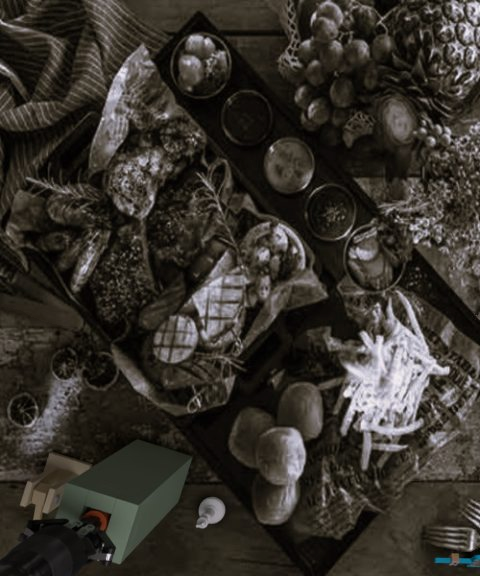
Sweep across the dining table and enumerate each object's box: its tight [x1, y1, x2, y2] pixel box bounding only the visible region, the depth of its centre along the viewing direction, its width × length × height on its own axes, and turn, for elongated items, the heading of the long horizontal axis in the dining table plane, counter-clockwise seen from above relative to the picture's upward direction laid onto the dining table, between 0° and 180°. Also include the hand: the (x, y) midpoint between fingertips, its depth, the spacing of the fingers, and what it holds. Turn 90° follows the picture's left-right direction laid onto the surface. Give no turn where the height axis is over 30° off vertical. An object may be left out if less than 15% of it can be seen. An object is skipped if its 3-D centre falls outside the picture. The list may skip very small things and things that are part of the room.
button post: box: [54, 438, 194, 565], centre depth 127 cm, size 11×9×33 cm
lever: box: [17, 483, 52, 543], centre depth 135 cm, size 12×5×2 cm, turn 163°
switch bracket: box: [19, 451, 93, 515], centre depth 138 cm, size 9×8×12 cm
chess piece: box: [195, 496, 226, 529], centre depth 139 cm, size 5×5×10 cm
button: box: [83, 508, 111, 531], centre depth 113 cm, size 4×4×3 cm
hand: (93, 523), depth 111 cm, fingers closed
